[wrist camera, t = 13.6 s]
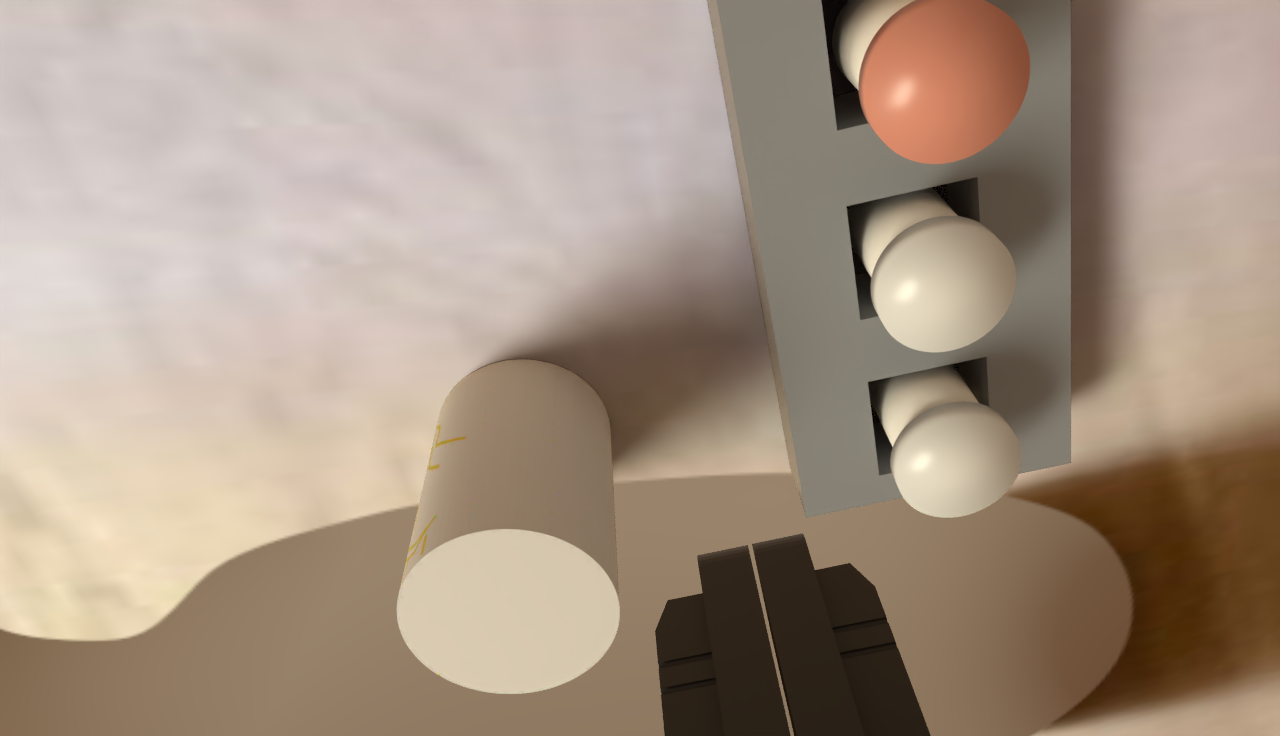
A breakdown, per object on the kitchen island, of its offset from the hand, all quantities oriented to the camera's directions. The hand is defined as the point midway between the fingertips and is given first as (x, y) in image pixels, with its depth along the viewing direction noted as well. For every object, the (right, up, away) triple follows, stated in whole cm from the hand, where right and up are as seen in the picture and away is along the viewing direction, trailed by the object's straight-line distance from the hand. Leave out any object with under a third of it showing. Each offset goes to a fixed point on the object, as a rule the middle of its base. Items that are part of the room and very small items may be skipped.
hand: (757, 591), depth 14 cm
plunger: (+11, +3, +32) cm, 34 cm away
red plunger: (+7, +15, +23) cm, 28 cm away
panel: (+9, +10, +29) cm, 31 cm away
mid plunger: (+9, +9, +28) cm, 31 cm away
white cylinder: (-7, 0, +33) cm, 34 cm away
